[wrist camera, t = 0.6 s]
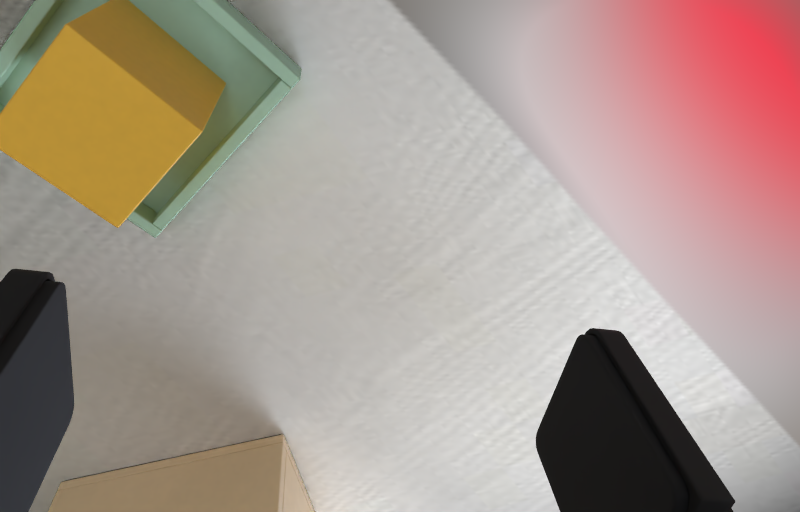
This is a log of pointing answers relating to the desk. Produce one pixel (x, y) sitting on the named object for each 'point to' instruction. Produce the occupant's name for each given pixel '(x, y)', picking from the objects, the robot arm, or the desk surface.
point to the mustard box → (109, 109)
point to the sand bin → (196, 483)
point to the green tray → (211, 44)
